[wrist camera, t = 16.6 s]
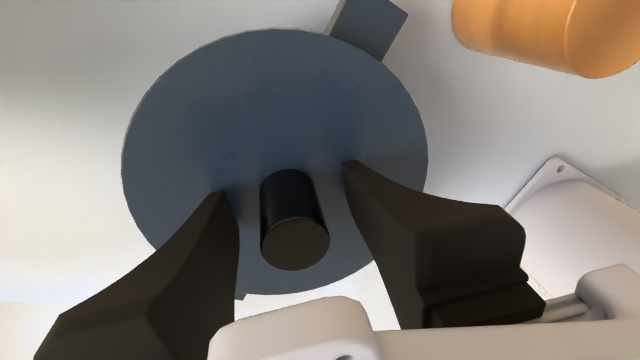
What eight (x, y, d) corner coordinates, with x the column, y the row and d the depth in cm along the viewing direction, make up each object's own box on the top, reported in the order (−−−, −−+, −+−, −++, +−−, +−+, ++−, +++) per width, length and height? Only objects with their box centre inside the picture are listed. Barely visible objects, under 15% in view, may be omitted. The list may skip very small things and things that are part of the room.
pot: (449, 57, 16) (496, 72, 13) (303, 277, 22) (311, 324, 19) (240, -86, 12) (234, -115, 9) (131, 235, 18) (105, 285, 15)
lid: (470, 116, 14) (548, 159, 11) (334, 298, 19) (354, 373, 15) (187, -56, 10) (141, -90, 6) (99, 244, 14) (43, 334, 11)
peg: (545, -13, 15) (715, -19, 10) (489, 64, 17) (608, 99, 11) (490, -65, 14) (654, -109, 8) (434, 25, 15) (540, 42, 10)
